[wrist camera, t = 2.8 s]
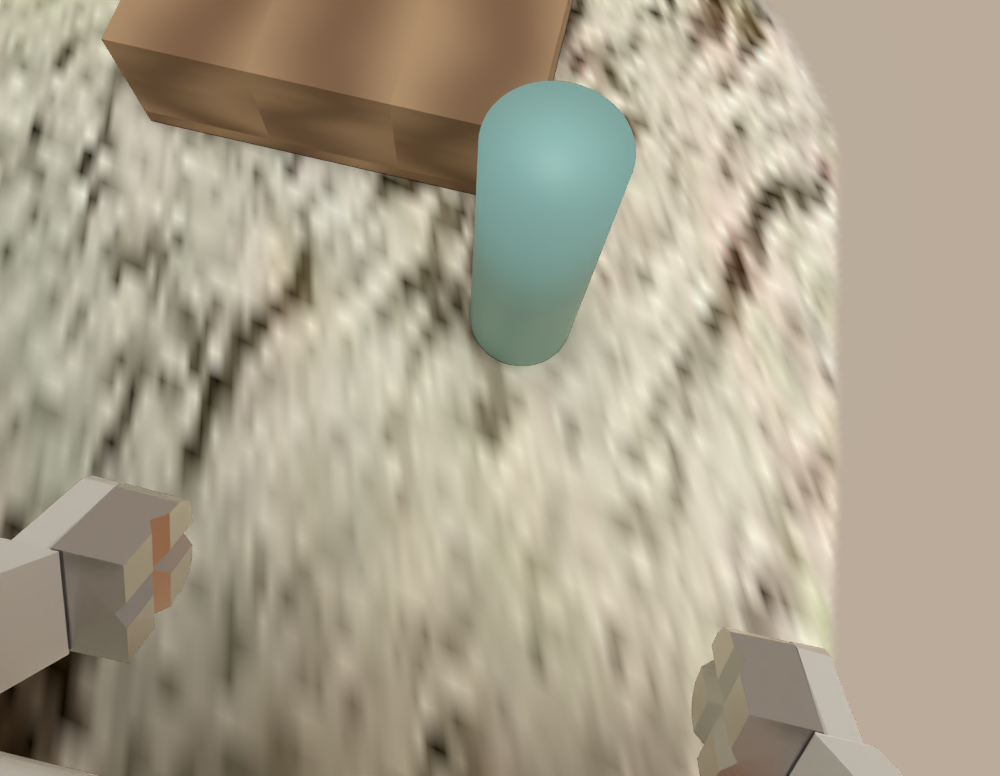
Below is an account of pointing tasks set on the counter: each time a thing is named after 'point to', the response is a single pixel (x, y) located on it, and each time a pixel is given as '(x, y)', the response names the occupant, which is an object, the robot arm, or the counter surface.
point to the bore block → (340, 73)
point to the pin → (543, 213)
